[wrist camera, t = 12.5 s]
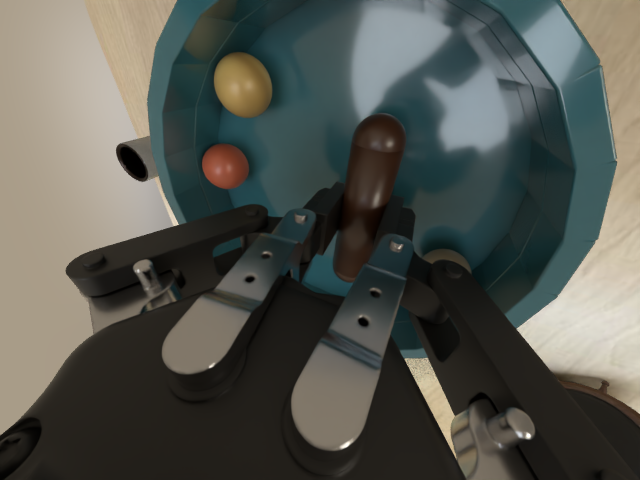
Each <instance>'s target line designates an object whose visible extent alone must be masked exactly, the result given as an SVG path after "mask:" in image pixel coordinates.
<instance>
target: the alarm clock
mask: <svg viewBox="0 0 640 480" xmlns="http://www.w3.org/2000/svg"><path fill="white" fill-rule="evenodd" d="M559 382H560V383H561V384H562V385H563V387H564V388H565V389H566V390H567V392H568V393H569V394H570V395H571V396H572V398H573V399H574V400H575V401H576V402H577V404H578V405H579V406H580V407H581V409H582V410H583V411H584V412H585V413H586V415H587V416H588V417H589V418H590V420H591V421H592V422H593V423H594V424H595V426H596V427H597V428H598V429H599V430H600V432H601V433H602V434H603V435H604V437H605V438H606V439H607V440H608V441H609V443H610V444H611V445H612V446H613V448H614V449H615V450H616V451H617V452H618V454H619V455H620V456H621V457H622V458H623V460H624V461H625V462H626V463H627V465H628V466H629V467H630V468H631V469H632V471H633V472H634V473H635V474H636V476H637V477H638V478H639V479H640V414H639V413H638V412H636V411H635V410H633V409H632V408H630V407H629V406H627V405H626V404H624V403H623V402H621V401H619V400H617V399H616V398H614V397H612V396H610V395H608V394H607V386H609V383H608V382H606V381H602V382H601V383H602V386H601V387H600V388H599V390H596V389H594V388H591V387H588V386H584V385H581V384H577V383H572V382H565V381H559Z"/></svg>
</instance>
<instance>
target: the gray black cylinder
mask: <svg viewBox="0 0 640 480" xmlns="http://www.w3.org/2000/svg"><path fill="white" fill-rule="evenodd" d="M116 154H117V157H118V160H119V162H120V164H121V166H122V167H123V168H124V170H125V171H126V172H127V173H128V174H129V175H130V176H131V177H133V178H134V179H136V180H138V181H142V182H144V181H147V180H150V179H152V178H155V177H157V176H159V175H158V172H157V168H156V165H155V161H154V158H153V155H152V151H151V142H150V136H147V137H143V138H140V139H136V140H132V141H128V142H124V143H120V144H119V145H118V146H117V148H116Z"/></svg>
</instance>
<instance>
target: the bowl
mask: <svg viewBox="0 0 640 480" xmlns="http://www.w3.org/2000/svg"><path fill="white" fill-rule="evenodd" d="M233 52H244V53H247V54H250V55H252V56H254V57H255V58H256V59H258V60H259V61H260V62H261V63H262V64H263V65H264V67H265V68H266V70H267V72H268V74H269V76H270V79H271V83H272V98H271V101H270V104H269V106H268V108H267V109H266V110H265V111H264V112H263V113H262V114H260V115H259V116H257V117H253V118H242V117H239V116H236V115H234V114H233V113H231V112H230V111H228V110H227V109H226V108H225V107H224V106H223V104H222V103H221V101H220V100H219V98H218V96H217V94H216V91H215V86H214V73H215V69H216V67H217V65H218V63H219V61H220V60H221V59H222V58H223V57H224V56H226V55H228V54H230V53H233ZM147 101H148V102H147V106H148V118H149V130H150V142H151V151H152V155H153V158H154V161H155V165H156V168H157V172H158V175H159V179H160V182H161V186H162V189H163V192H164V194H165V197H166V199H167V201H168V203H169V205H170V207H171V209H172V211H173V213H174V215H175V217H176V220H177V222H178V224H179V225H180V224H184V223H187V222H190V221H194V220H197V219H200V218H204V217H207V216H210V215H214V214H217V213H221V212H224V211H227V210H231V209H234V208H237V207H241V206H244V205H249V204H258V205H262V206H264V207H266V208H267V210H268V216H273V217H284V216H285V214H286V213H287V212H288V211H290V210H292V209H296V208H303V207H304V206H305V205H306V204H307V202H308V201H309V200H310V199H311V198H312V197H313V196H314V195H315V194H316V193H317V192H318V191H319V190H321V189H323V188H329V189H331V187H332V186H333V185H334V184H335V183H336V182H337V181H338V182H342V183H345V180H346V174H347V168H348V162H349V155H350V149H351V143H352V138H353V134H354V132H355V129H356V128H357V126H358V125H359V124H360V123H361V122H362V121H363V120H364V119H365V118H367V117H368V116H370V115H373V114H377V113H387V114H390V115H392V116H394V117H396V118H397V119H398V120H399V121H400V122H401V123H402V125H403V127H404V129H405V132H406V146H405V150H404V154H403V157H402V161H401V164H400V167H399V171H398V174H397V177H396V181H395V184H394V187H393V191H392V195H396V196H400V197H404V202H403V206H402V207H405V208H409V209H412V210H413V212H414V213H415V215H416V218H415V225H414V233H413V240H412V243H413V245H414V252H415V253H416V254H417V255H418V256H419V257H421V258H422V257H423V256H424V255H426V254H427V253H429V252H430V251H433V250H436V249H450V250H453V251H455V252H457V253H459V254H461V255H462V256H463V257H464V258H465V259H466V260H467V262H468V263H469V265H470V268H471V273H472V276H473V277H474V278H475V279H476V281H477V282H478V283H479V284H480V286H481V287H482V288H483V289H484V290H485V292H486V293H487V294H488V295H489V297H490V298H491V299H492V300H493V301H494V303H495V304H496V305H497V306H498V308H499V309H500V310H501V311H502V312H503V314H504V315H505V316H506V317H507V318H508V320H509V321H510V322H511V323H512V325H513V326H514V327H515V328H518V327H519V326H520V325H522V324H523V323H524V322H526V321H527V320H528V319H529V318H531V317H532V316H533V315H535V314H536V313H537V312H539V311H540V310H541V309H542V308H544V307H545V306H546V305H548V304H549V303H550V302H552V301H553V300H554V299H556V298H557V297H558V295H559V294H560V293H561V291H562V290H563V288H564V287H565V285H566V284H567V283H568V281H569V280H570V278H571V277H572V275H573V274H574V272H575V271H576V270H577V268H578V267H579V265H580V264H581V262H582V261H583V260H584V258H585V257H586V255H587V254H588V252H589V251H590V249H591V248H592V247H593V245H594V244H595V240H598V237H599V233H600V229H601V225H602V221H603V217H604V213H605V209H606V206H607V202H608V198H609V194H610V190H611V186H612V182H613V178H614V174H615V170H616V166H617V161H616V159H617V155H616V149H615V143H614V136H613V130H612V124H611V118H610V112H609V105H608V99H607V93H606V87H605V80H604V74H603V68H602V66H601V65H600V59H599V58H598V56H597V55H596V53H595V52H594V50H593V49H592V47H591V46H590V44H589V43H588V41H587V40H586V38H585V37H584V35H583V34H582V32H581V31H580V29H579V28H578V26H577V25H576V23H575V22H574V20H573V19H572V17H571V16H570V14H569V13H568V11H567V10H566V8H565V7H564V5H563V4H562V2H561V1H560V0H177V2H176V4H175V6H174V8H173V10H172V12H171V14H170V16H169V18H168V21H167V23H166V25H165V27H164V29H163V31H162V33H161V35H160V37H159V39H158V41H157V43H156V47H155V53H154V59H153V66H152V72H151V79H150V85H149V92H148V98H147ZM221 143H225V144H230V145H233V146H235V147H237V148H238V149H240V150H241V151H242V152H243V154H244V155H245V157H246V158H247V161H248V164H249V173H248V176H247V179H246V180H245V182H244V183H243V184H241V185H240V186H238V187H236V188H233V189H223V188H219V187H217V186H215V185H214V184H212V183H211V182H210V181H209V180H208V179H207V178H206V176H205V174H204V172H203V168H202V159H203V156H204V154H205V152H206V151H207V150H208V149H209V148H210V147H212V146H214V145H216V144H221ZM337 231H338V230H337ZM336 237H337V232H336V234H335V235H334V237H333V239H332V241H331V242H330V244H329V246H328V247H327V249H326V251H325V252H324V254H323V256H321V255H318V254H316V255H315V256H314V258H313V263H312V266H311V268H310V270H309V273H308V275H307V277H306V279H305V282H304V284H303V285H304V286H306V287H307V288H309V289H310V290H312V291H314V292H316V293H323V294H330V295H337V296H344V297H346V295H347V293H348V292H349V290H350V288H351V286H352V284H353V283H348V282H345V281H342V280H341V279H339V278H338V277H337V276H336V274H335V272H334V270H333V256H334V250H335V243H336ZM239 247H241V241H240V237H238V238H236V239H233V240H230V241H228V242H225V243H222V244H220V245H218V246H216V247H215V248H214V250H213V257H216V256H218V255H221V254H224V253H226V252H229V251H231V250H234V249H236V248H239ZM408 312H409V310H407V309H406V308H404V307H403V306H401V305H400V304H399V307H398V310H397V314H396V317H395V320H394V324H393V327H392V330H391V334H390V335H391V336H392V338H393V339H394V341H395V343H396V344H397V346H398V348H399V350H400V352H401V354H402V356H403V358H428V357H427V355H426V352H425V350H424V348H423V346H422V344H421V342H420V339H419V337H418V335H417V333H416V331H415V329H414V326H413V324H412V322H411V320H410V318H409V314H408ZM449 318H450V317H449ZM450 319H451V318H450ZM451 321H452V320H451ZM452 323H453V321H452ZM453 324H454V323H453ZM454 326H455V325H454ZM455 328H456V326H455ZM456 329H457V328H456ZM457 331H458V330H457Z"/></svg>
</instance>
